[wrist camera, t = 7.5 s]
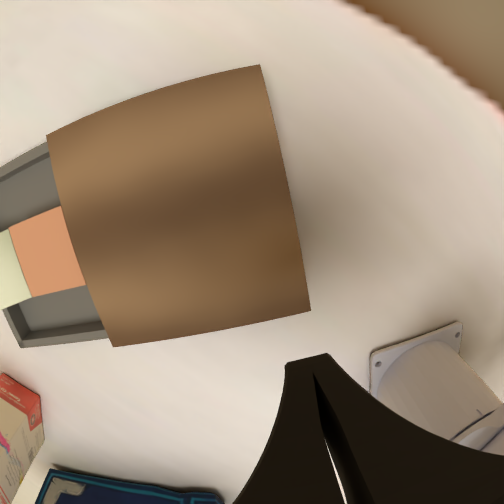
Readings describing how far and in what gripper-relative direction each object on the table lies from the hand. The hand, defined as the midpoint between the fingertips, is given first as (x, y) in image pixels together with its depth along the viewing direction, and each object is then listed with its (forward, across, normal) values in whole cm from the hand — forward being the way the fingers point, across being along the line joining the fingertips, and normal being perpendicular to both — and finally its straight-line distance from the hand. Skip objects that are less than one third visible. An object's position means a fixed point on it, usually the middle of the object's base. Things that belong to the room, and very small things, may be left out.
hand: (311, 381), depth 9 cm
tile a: (+9, +13, -5) cm, 16 cm away
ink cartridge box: (+10, +27, +9) cm, 30 cm away
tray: (+9, +15, -5) cm, 18 cm away
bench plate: (+9, +4, -5) cm, 11 cm away
